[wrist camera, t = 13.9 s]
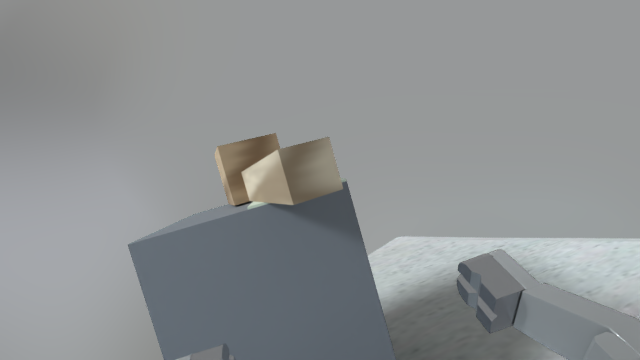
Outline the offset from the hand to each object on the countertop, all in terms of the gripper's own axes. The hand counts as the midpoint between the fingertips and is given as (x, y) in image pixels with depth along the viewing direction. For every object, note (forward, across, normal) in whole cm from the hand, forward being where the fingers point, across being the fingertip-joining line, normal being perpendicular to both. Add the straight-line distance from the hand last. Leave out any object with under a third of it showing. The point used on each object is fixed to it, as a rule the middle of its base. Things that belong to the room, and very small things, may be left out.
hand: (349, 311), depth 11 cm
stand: (+9, +5, +31) cm, 32 cm away
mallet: (+18, +2, +6) cm, 19 cm away
